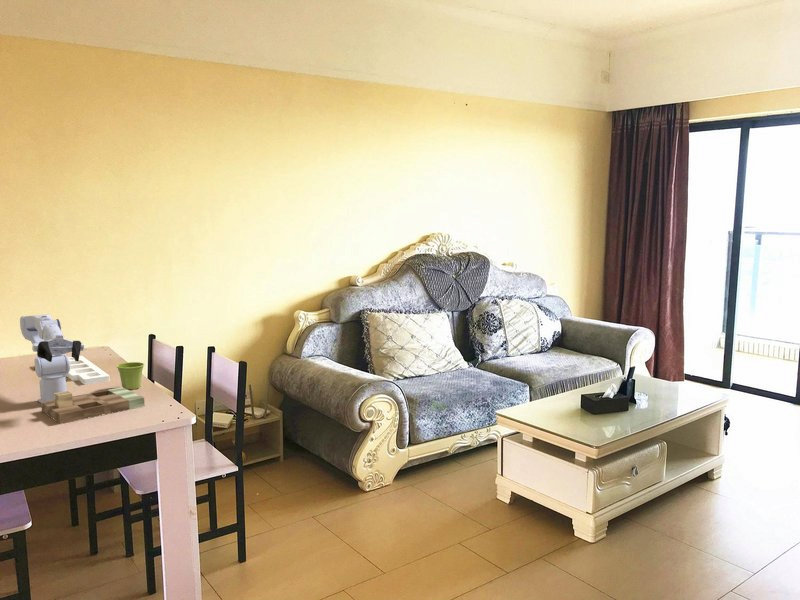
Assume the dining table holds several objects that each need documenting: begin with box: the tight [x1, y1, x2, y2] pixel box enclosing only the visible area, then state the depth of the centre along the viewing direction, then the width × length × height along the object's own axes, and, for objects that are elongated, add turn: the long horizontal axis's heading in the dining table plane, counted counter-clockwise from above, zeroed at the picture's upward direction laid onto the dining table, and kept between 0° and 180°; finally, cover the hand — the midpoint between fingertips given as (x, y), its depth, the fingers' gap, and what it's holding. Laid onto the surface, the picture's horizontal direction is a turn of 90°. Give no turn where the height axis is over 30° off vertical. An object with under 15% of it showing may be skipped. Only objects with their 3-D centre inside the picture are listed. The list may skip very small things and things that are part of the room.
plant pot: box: [116, 361, 145, 391], centre depth 239 cm, size 9×9×9 cm
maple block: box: [54, 390, 73, 408], centre depth 207 cm, size 4×4×4 cm
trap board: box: [40, 386, 146, 424], centre depth 214 cm, size 18×26×3 cm
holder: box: [65, 355, 111, 386], centre depth 261 cm, size 45×18×3 cm, turn 38°
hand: (64, 358), depth 203 cm, fingers open, 7 cm apart
